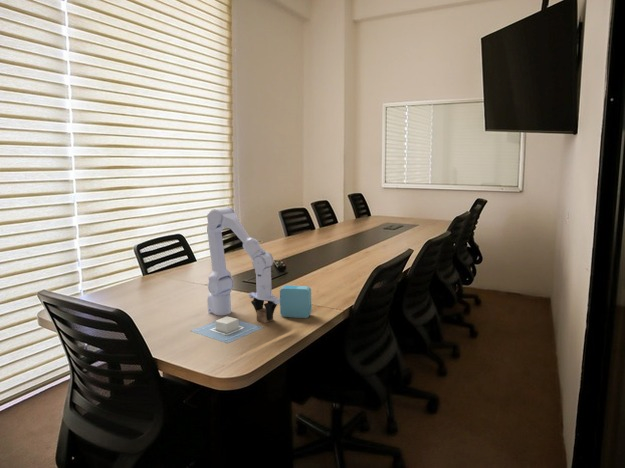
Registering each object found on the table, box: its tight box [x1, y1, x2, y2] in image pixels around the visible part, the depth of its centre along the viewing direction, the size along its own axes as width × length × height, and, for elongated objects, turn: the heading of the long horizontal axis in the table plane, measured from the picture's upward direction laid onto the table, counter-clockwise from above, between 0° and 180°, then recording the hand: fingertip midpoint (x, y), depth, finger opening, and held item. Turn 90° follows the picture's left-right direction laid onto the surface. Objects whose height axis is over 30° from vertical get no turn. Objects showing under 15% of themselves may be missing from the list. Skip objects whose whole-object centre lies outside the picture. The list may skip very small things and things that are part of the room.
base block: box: [214, 315, 240, 333], centre depth 164 cm, size 6×6×4 cm
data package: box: [279, 285, 312, 319], centre depth 180 cm, size 12×4×12 cm, turn 78°
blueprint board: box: [190, 320, 264, 344], centre depth 165 cm, size 20×18×1 cm
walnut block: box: [255, 307, 274, 324], centre depth 173 cm, size 4×4×5 cm
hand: (265, 318), depth 173 cm, fingers closed on walnut block, 4 cm apart
